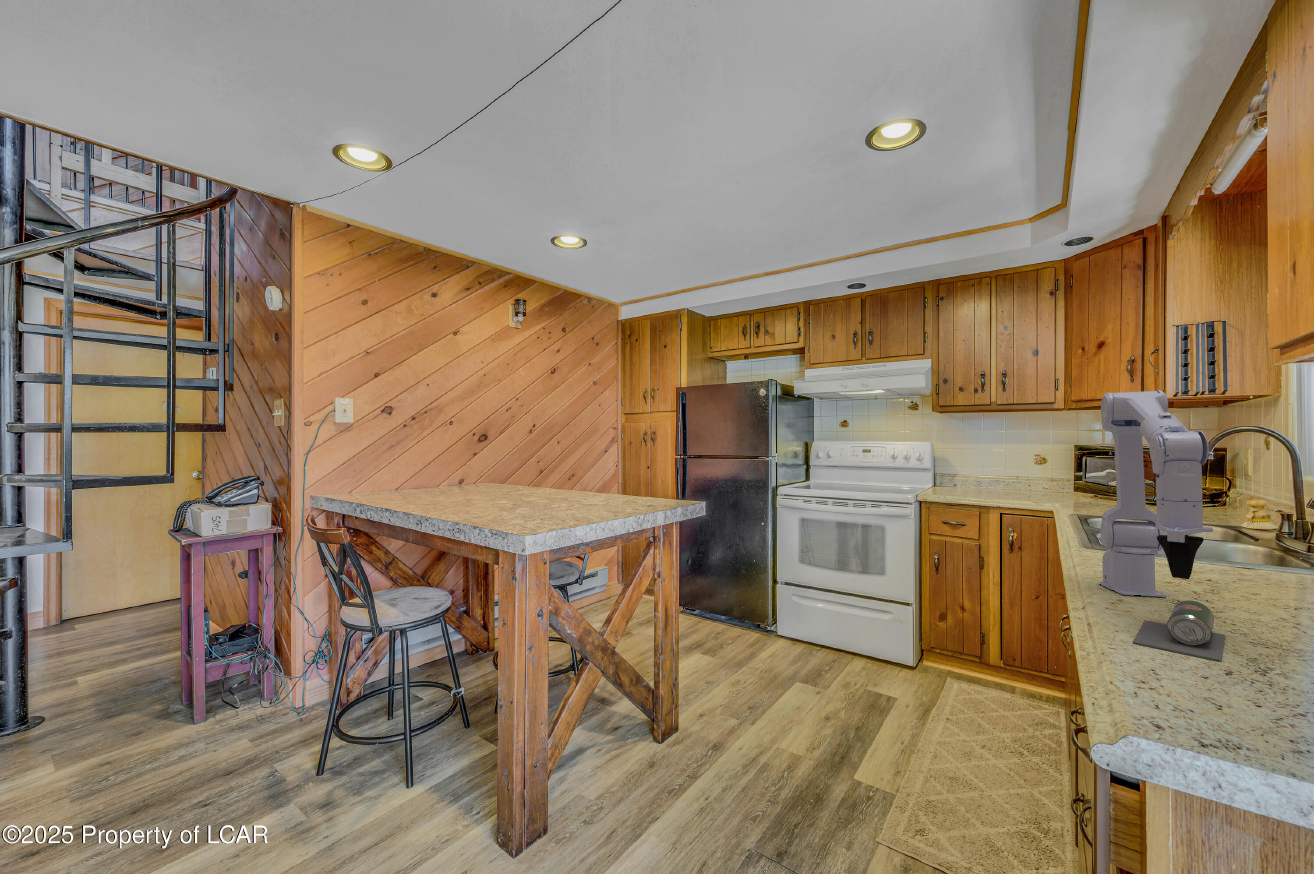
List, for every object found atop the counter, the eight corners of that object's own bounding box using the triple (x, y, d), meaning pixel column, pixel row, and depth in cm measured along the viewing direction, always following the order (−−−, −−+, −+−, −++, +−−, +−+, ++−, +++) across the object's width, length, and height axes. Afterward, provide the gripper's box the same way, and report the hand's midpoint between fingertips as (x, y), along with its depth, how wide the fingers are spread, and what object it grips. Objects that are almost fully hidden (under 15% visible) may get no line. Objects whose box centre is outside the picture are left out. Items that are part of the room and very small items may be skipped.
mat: (1145, 621, 96) (1145, 620, 96) (1225, 636, 89) (1225, 634, 89) (1132, 643, 86) (1132, 641, 86) (1221, 661, 79) (1221, 660, 79)
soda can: (1202, 596, 91) (1197, 612, 83) (1222, 625, 89) (1219, 644, 82) (1166, 603, 95) (1158, 619, 87) (1185, 632, 93) (1179, 650, 85)
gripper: (1209, 505, 84) (1212, 590, 84) (1214, 498, 93) (1216, 574, 93) (1149, 502, 89) (1151, 582, 89) (1159, 495, 99) (1161, 567, 98)
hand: (1181, 577), depth 91 cm, fingers closed
